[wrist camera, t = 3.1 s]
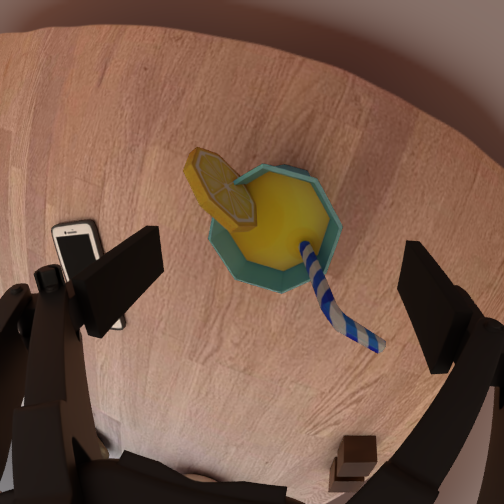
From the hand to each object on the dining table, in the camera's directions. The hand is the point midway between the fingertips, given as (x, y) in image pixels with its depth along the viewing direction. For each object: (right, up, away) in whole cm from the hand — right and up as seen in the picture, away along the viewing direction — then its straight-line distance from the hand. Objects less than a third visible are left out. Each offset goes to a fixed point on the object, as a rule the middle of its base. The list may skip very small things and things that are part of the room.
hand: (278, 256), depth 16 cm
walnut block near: (+15, -29, +23) cm, 40 cm away
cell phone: (-22, -3, +20) cm, 30 cm away
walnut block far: (+15, -36, +26) cm, 46 cm away
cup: (+3, +5, +11) cm, 13 cm away
